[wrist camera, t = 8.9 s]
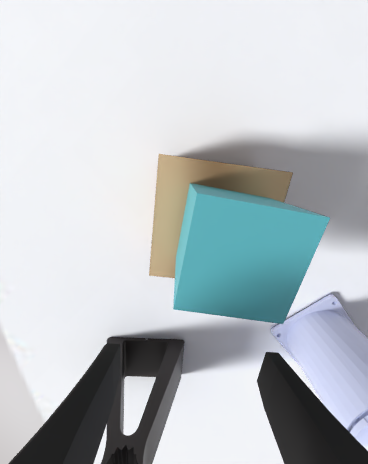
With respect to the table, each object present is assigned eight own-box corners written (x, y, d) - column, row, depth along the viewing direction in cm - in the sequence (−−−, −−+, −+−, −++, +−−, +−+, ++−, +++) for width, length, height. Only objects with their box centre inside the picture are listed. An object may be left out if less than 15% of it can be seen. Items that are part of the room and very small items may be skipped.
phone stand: (184, 339, 22) (189, 514, 11) (180, 374, 24) (181, 554, 13) (108, 336, 22) (32, 515, 11) (110, 372, 24) (48, 556, 13)
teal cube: (268, 197, 12) (330, 217, 7) (245, 268, 13) (283, 324, 8) (189, 182, 11) (197, 192, 6) (175, 257, 13) (173, 309, 8)
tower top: (270, 171, 14) (293, 172, 11) (245, 266, 16) (258, 286, 14) (163, 156, 14) (158, 153, 11) (154, 256, 16) (149, 275, 13)
